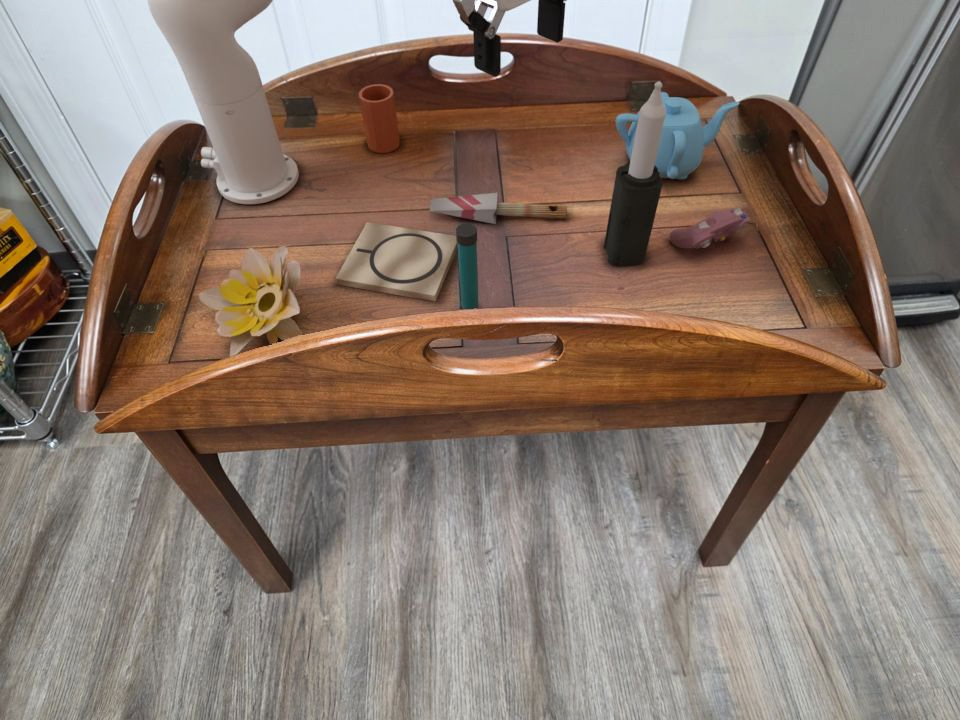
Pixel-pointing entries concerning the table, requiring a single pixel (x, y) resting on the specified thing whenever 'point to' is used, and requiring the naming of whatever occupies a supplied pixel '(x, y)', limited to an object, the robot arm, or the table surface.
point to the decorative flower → (257, 300)
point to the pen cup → (379, 118)
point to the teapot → (677, 135)
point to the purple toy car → (710, 229)
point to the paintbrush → (492, 208)
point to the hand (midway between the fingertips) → (519, 54)
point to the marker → (468, 265)
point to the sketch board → (399, 261)
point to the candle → (637, 189)
